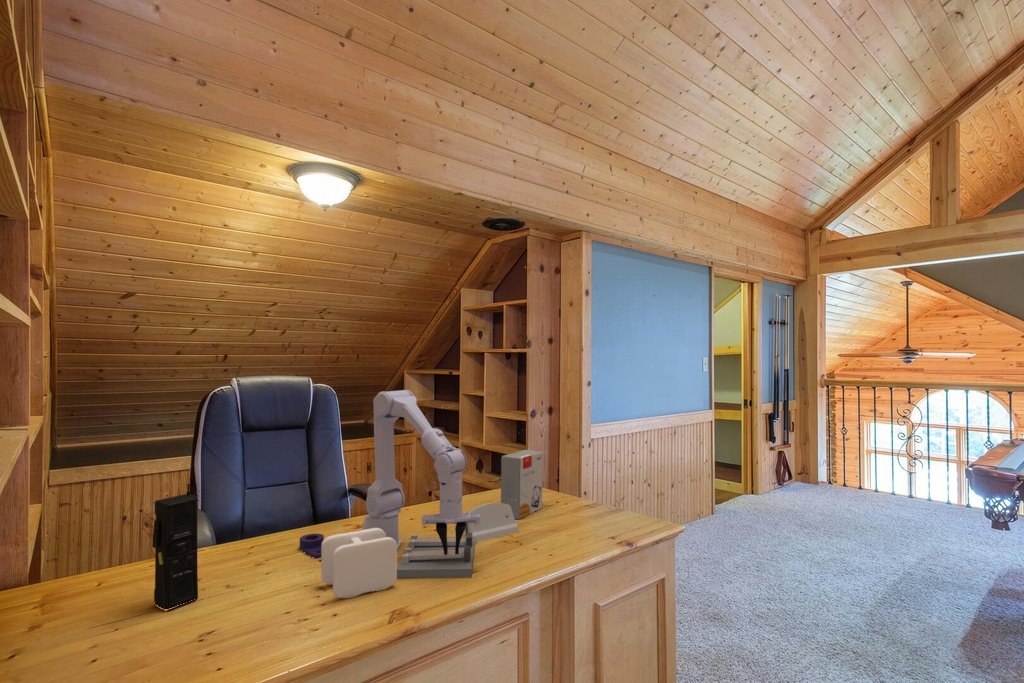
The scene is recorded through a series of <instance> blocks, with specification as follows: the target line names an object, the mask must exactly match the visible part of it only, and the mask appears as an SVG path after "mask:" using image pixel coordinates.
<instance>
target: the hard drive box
mask: <svg viewBox="0 0 1024 683" xmlns="http://www.w3.org/2000/svg"><path fill="white" fill-rule="evenodd" d="M543 457H544V456H543V451H538V450H531V449H523V450H519V451H515V452H512V453H509V454H505V455H502V456H501V461H500V462H501V463H500V464H501V468H500V470H501V472H500V476H501V478H500V503H504V504H508V505H510V506H511V509H512V512H513V515H514V518H515V520H521V519H523V518H525V517H524V516H526V517H527V516H529V515H531V514H533V513H536V512H538V511H540V510H542V509H543V464H544V463H543V462H544V461H543V459H544V458H543ZM541 508H542V509H541ZM539 509H540V510H539ZM537 510H538V511H537ZM535 511H536V512H535ZM520 518H521V519H520Z"/></svg>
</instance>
